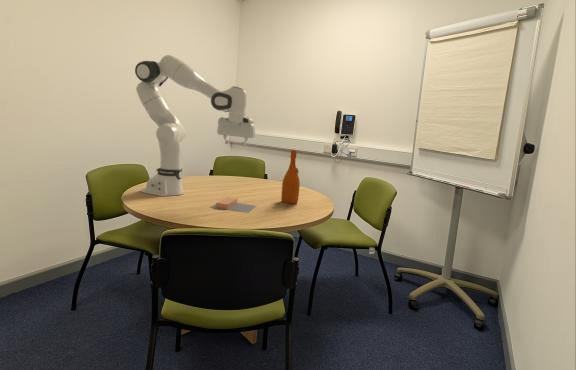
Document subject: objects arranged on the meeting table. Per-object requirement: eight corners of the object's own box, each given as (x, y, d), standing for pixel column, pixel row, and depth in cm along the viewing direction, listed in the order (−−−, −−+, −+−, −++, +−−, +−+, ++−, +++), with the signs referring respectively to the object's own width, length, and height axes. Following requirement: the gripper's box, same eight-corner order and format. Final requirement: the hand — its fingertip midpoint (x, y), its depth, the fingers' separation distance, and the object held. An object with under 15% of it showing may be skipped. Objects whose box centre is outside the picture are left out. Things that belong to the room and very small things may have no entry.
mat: (209, 208, 174) (209, 207, 174) (220, 202, 189) (220, 200, 189) (248, 214, 171) (248, 212, 171) (256, 206, 185) (256, 205, 185)
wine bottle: (296, 205, 196) (301, 151, 190) (279, 203, 198) (283, 149, 192) (299, 201, 205) (304, 150, 200) (282, 199, 207) (287, 148, 201)
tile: (226, 201, 188) (216, 207, 175) (226, 197, 188) (216, 202, 174) (237, 203, 187) (227, 209, 174) (237, 198, 187) (227, 204, 173)
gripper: (216, 116, 185) (214, 143, 187) (253, 120, 181) (251, 147, 184) (220, 117, 191) (219, 142, 193) (256, 120, 187) (255, 146, 190)
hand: (235, 144), depth 189 cm, fingers open, 8 cm apart
